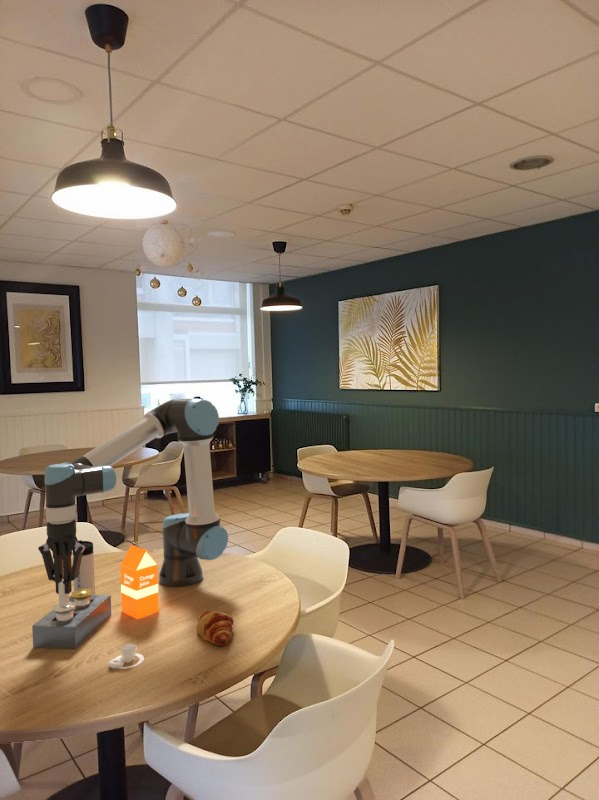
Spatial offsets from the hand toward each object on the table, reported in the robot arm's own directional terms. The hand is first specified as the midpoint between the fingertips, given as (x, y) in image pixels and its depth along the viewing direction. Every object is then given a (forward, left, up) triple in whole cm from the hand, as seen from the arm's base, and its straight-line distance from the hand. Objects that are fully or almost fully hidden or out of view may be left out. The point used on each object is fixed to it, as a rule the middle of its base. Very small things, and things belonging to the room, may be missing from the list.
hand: (64, 604), depth 158 cm
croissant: (-41, -6, -10) cm, 43 cm away
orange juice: (-14, -19, -10) cm, 26 cm away
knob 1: (0, 0, -8) cm, 8 cm away
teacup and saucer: (-20, +11, -10) cm, 25 cm away
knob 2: (0, -10, -8) cm, 13 cm away
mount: (0, -5, -9) cm, 11 cm away
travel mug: (+6, -23, -10) cm, 26 cm away
